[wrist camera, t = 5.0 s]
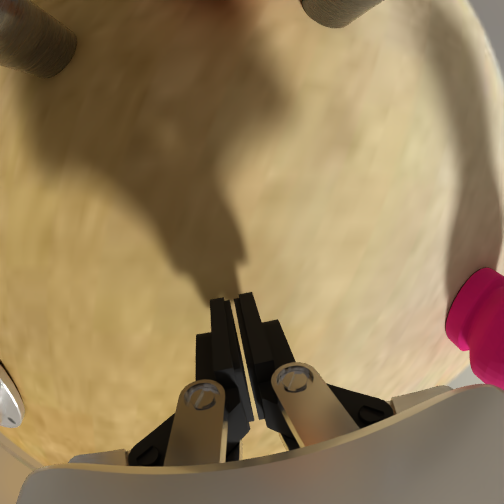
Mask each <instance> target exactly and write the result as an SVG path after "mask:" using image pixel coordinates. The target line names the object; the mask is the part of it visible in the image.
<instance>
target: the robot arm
mask: <svg viewBox="0 0 504 504" xmlns="http://www.w3.org/2000/svg"><path fill="white" fill-rule="evenodd" d="M234 302H235V308H236V313H237V318H238V323H239V329H240V334H241V339H242V344H243V349H244V354H245V359H246V364H247V368H248V373H249V378H250V382H251V387H252V391H253V395H254V400H255V404H256V408H257V413H258V417H259V420H261V419H265V421H266V425H267V427H268V428H270V429H272V430H274V431H276V432H279V436H280V439H281V441H282V443H283V445H284V447H285V449H286V450H287V451H286V452H282V453H277V454H273V455H268V456H263V457H257V458H251V459H245V460H242V451H243V443H242V438H243V437H244V436H245V435H246V434H247V433H248V432H249V430H250V426H249V422H251V421H254V416H253V412H252V407H251V402H250V397H249V392H248V387H247V382H246V376H245V371H244V366H243V361H242V355H241V351H240V346H239V342H238V337H237V332H236V328H235V323H234V318H233V314H232V309H231V304H230V300H226V301H224V297H222V298H217V299H211V300H210V312H211V332H209V333H203V334H197V335H196V381H195V382H192V383H190V384H188V385H187V386H185V388H184V389H183V390H182V391H181V393H180V395H179V399H178V403H177V407H176V412H175V413H174V414H173V415H172V416H171V417H169V418H168V419H167V420H166V421H165V422H163V423H162V424H161V425H160V426H159V427H157V428H156V429H155V430H154V431H152V432H151V433H150V434H149V435H147V436H146V437H145V438H144V439H142V440H141V441H140V442H139V443H137V444H136V445H135V446H134V447H133V448H132V449H131V450H130V451H126V450H125V449H120V450H114V451H107V452H100V453H92V454H83V455H78V456H74V457H73V458H72V459H70V461H69V462H68V463H62V464H54V465H50V466H45V467H42V468H39V469H37V470H35V471H33V472H31V473H30V474H29V475H28V477H27V478H26V480H25V481H24V483H23V485H22V487H21V490H20V493H19V496H18V500H17V503H16V504H504V390H502V389H501V388H499V387H497V386H495V385H491V384H475V385H470V386H464V387H461V388H456V389H452V388H451V387H449V386H444V385H443V386H436V387H433V388H429V389H425V390H422V391H418V392H414V393H410V394H405V395H401V396H397V397H392V398H391V401H384V400H381V399H379V398H375V397H371V396H368V395H364V394H360V393H357V392H353V391H350V390H346V389H343V388H340V387H336V386H333V385H330V384H327V383H325V381H324V380H323V379H322V377H321V376H320V375H319V373H318V372H317V371H316V370H315V369H314V368H313V367H312V366H310V365H308V364H306V363H301V362H295V359H294V357H293V354H292V352H291V349H290V347H289V345H288V342H287V340H286V337H285V335H284V332H283V330H282V327H281V325H280V323H279V321H278V319H277V320H273V321H268V322H263V323H262V322H261V319H260V316H259V313H258V309H257V306H256V303H255V300H254V297H253V293H252V292H249V293H244V294H239V298H237V299H234ZM24 414H25V409H24V405H23V402H22V399H21V397H20V395H19V393H18V391H17V389H16V387H15V385H14V384H13V382H12V380H11V379H10V377H9V376H8V374H7V373H6V371H5V370H4V368H3V367H2V366H1V365H0V425H1V426H4V427H9V428H14V427H18V426H19V425H20V424H21V422H22V420H23V418H24Z"/></svg>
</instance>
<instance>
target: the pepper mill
mask: <svg viewBox="0 0 504 504" xmlns="http://www.w3.org/2000/svg"><path fill="white" fill-rule="evenodd" d="M446 334H447V337H448V338H449V339H450V340H451V341H452V342H453V343H454V344H455V345H456V346H457V347H458V348H459V349H460V350H462V351H467V350H470V364H471V368H472V371H473V373H474V374H475V375H476V376H477V377H478V378H480V379H481V380H482V381H483V382H484V383H485V384H491V385H495V386H497V387H499V388H501V389H502V390H504V276H502V275H501V274H499V273H498V272H496V271H494V270H493V269H491V268H483V269H480V270H479V271H477V272H476V273H474V274H473V275H472V276H471V277H470V278H469V279H468V280H467V281H466V283H465V284H464V285H463V287H462V288H461V290H460V291H459V293H458V295H457V296H456V298H455V300H454V302H453V304H452V306H451V309H450V311H449V314H448V317H447V321H446Z"/></svg>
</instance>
